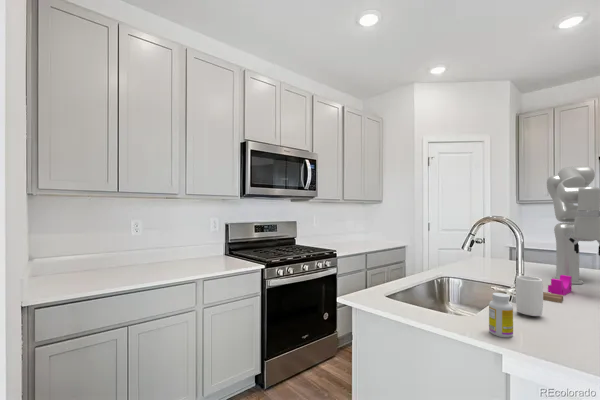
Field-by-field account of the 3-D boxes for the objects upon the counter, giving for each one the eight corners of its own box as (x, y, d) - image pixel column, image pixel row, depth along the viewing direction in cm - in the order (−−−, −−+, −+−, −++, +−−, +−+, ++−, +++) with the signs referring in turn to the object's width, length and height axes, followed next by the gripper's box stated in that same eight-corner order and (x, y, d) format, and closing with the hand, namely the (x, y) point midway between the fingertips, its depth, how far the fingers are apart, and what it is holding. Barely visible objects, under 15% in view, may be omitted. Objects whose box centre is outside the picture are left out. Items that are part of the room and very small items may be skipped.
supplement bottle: (515, 334, 103) (515, 294, 103) (510, 340, 99) (510, 299, 99) (492, 328, 108) (492, 290, 108) (486, 333, 104) (486, 294, 104)
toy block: (555, 288, 157) (555, 273, 157) (571, 292, 152) (571, 276, 152) (544, 294, 148) (544, 278, 148) (561, 297, 143) (561, 280, 143)
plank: (514, 290, 153) (515, 286, 153) (563, 299, 140) (563, 295, 140) (511, 293, 148) (511, 289, 148) (561, 302, 135) (561, 298, 135)
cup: (547, 320, 115) (547, 281, 115) (520, 318, 117) (520, 279, 117) (537, 312, 123) (537, 276, 123) (512, 310, 126) (512, 274, 126)
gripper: (616, 215, 139) (615, 255, 139) (564, 213, 151) (564, 250, 151) (615, 215, 134) (615, 257, 134) (562, 214, 146) (562, 252, 146)
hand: (588, 253), depth 142 cm, fingers open, 6 cm apart
